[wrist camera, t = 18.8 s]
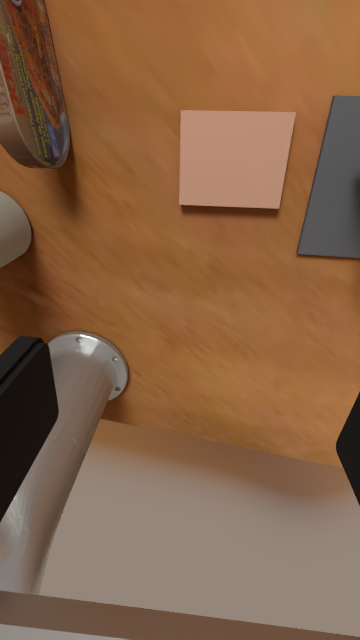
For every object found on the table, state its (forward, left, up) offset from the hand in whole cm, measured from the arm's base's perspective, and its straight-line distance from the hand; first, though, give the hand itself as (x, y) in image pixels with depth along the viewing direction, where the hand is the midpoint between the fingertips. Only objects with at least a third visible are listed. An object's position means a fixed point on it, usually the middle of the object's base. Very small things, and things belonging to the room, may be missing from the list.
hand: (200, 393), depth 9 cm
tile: (+1, -2, -27) cm, 27 cm away
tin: (+11, +16, -28) cm, 34 cm away
